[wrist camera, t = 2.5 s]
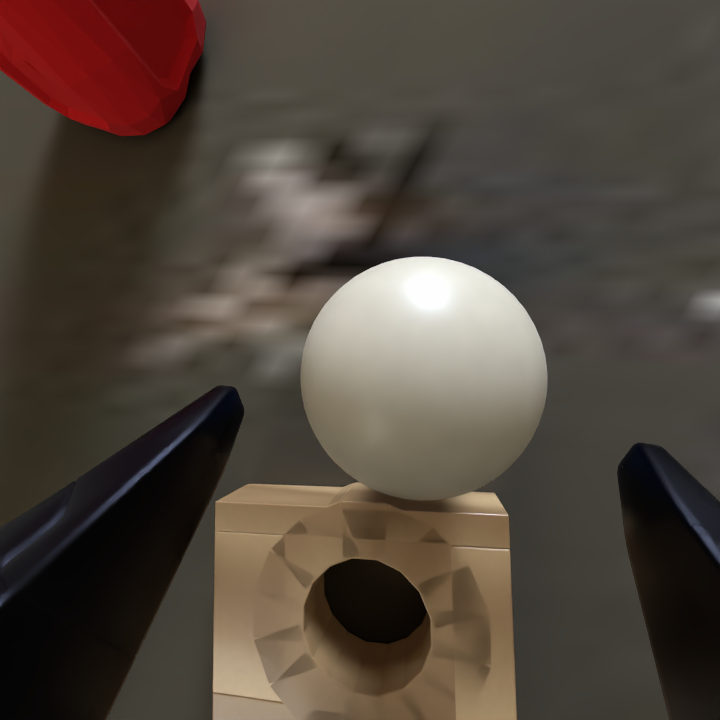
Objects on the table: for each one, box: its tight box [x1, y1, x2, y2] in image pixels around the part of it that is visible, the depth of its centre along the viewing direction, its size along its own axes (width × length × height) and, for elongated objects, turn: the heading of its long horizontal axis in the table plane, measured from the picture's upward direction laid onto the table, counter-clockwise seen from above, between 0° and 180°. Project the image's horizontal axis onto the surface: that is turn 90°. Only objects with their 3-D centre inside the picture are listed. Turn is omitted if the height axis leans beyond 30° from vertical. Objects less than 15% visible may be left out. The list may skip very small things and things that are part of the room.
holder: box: [212, 483, 517, 720], centre depth 16 cm, size 13×12×3 cm
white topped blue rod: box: [300, 257, 547, 501], centre depth 11 cm, size 4×4×14 cm
